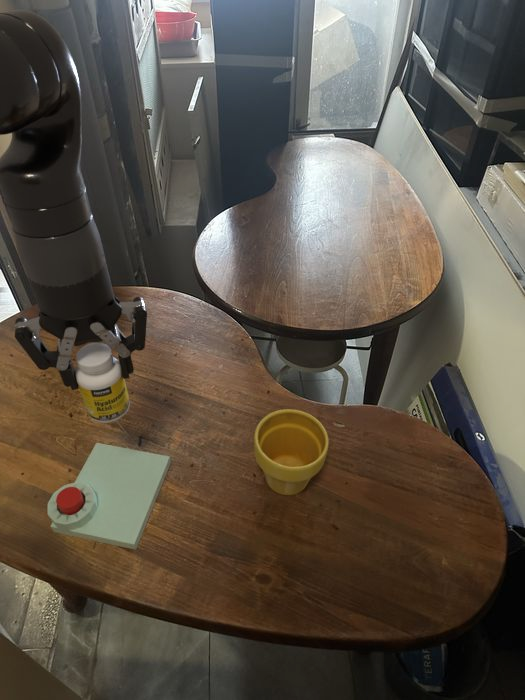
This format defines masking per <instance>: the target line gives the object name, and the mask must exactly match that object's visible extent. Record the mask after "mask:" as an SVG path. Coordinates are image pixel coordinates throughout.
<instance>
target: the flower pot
mask: <svg viewBox="0 0 525 700" xmlns="http://www.w3.org/2000/svg"><path fill="white" fill-rule="evenodd" d="M259 421H260V422H259V423H258V424H257V426H256V428H255V430H254V435H253V452H254V453H253V454H254V457H255V460H256V461H255V462H257V464H258V466H259V468H261V470H262V472H263V476H264V479H265V482H266V484H267V486H268V487H269V488H270V489H271V490H272V491H273V492H275V493H277V494H278V495H282V496H294V495H297V494H300V493H301V492H302V491H303V490H305V489H306V487H307V486H308V484H309V482H310V481H311V479H312V478H313V477H314V476H316V475H317V474H318V473H319V472H320V471H321V470H322V468H323V467H324V464H325V462H326V458H327V455H328V452H329V444H330V443H329V442H330V440H329V436H328V432H327V430H326V428H325V427H324V425H323V424H322V422H321V421H319V419H317V417H315V416H313V415H311V414H310V413H308V412H306V411H303V410H300V409H299V410H298V409H290V408H288V409H278V410H275V411H272V412H270V413H268V414H267V415H266V416H264V417H263V418H262V419H261V420H259Z"/></svg>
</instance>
